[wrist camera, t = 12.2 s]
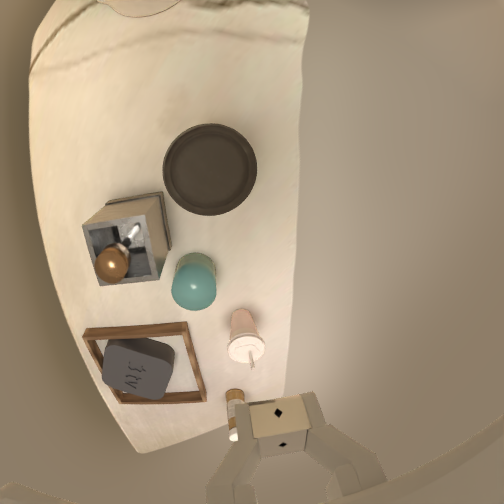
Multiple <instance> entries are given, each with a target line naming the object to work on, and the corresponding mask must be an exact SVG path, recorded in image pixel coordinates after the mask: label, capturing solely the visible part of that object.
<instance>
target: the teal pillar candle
mask: <svg viewBox="0 0 504 504" xmlns="http://www.w3.org/2000/svg"><path fill="white" fill-rule="evenodd" d="M171 292H172V296H173V299H174V300H175V302H176V303H177V304H178V305H179V306H181V307H183V308H185V309H187V310H193V311H197V310H202V309H205V308H207V307H208V306H210V305H211V304H212V303H213V301H214V300H215V297H216V269H215V265H214V263H213V262H212V260H211V259H210V258H209V257H207V256H206V255H204V254H200V253H190V254H187V255H185V256H183V257H182V258H181V259H180V260H179V262H178V264H177V266H176V271H175V275H174V279H173V284H172V289H171Z"/></svg>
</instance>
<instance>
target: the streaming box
mask: <svg viewBox="0 0 504 504" xmlns="http://www.w3.org/2000/svg"><path fill="white" fill-rule="evenodd" d="M174 355H175V354H174V350H173V349H172V348H171V347H170V346H168V345H167V344H164V343H161V342H157V341H154V340H151V339H148V338H129V339H109V341H108V343H107V346H106V348H105V352H104V360H103V369H102V380H103V381H104V383H105V384H107V385H108V386H110V387H112V388H114V389H118V390H121V391H124V392H127V393H130V394H134V395H137V396H140V397H144V398H148V399H152V400H157V399H161V398H162V397H163V396H164V394H165V391H166V388H167V386H168V383H169V380H170V378H171V375H172V372H173V364H174Z"/></svg>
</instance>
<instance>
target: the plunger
mask: <svg viewBox="0 0 504 504" xmlns="http://www.w3.org/2000/svg"><path fill="white" fill-rule="evenodd" d="M117 227H118V231H119V235H120V240H121V244H119V243H111V244H108V245H107V246H106V247H105V248H104V249H103V251H102V252H101V253H100V254H99V256H98V257H97V258H96V260H95V264H94V267H95V271H96V274H97V275H98V277H99V278H100V279H101V280H103V281H104V282H107V283H110V284H115V283H118V282H120V281H121V280H122V279H123V278H124V276H125V274H126V272H127V270H128V268H129V267H130V264H131V254H130V252H129V250H128V249H129V248H136V247H144V246H145V243H144V239H143V234H142V229H141V225H140V222H137V223H130V224H124V225H117Z"/></svg>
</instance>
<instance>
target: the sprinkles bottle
mask: <svg viewBox="0 0 504 504" xmlns="http://www.w3.org/2000/svg"><path fill="white" fill-rule="evenodd" d="M226 398H227V415H228V422H229V438H230V440H231V441H233V442H234V441H238V436H237V427H236V419H235V410H234V405H235V404H241V403H245V402H244V393H243V392H242V391H241V390H238V389H232V390H229V391H228V392H227V393H226Z"/></svg>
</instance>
